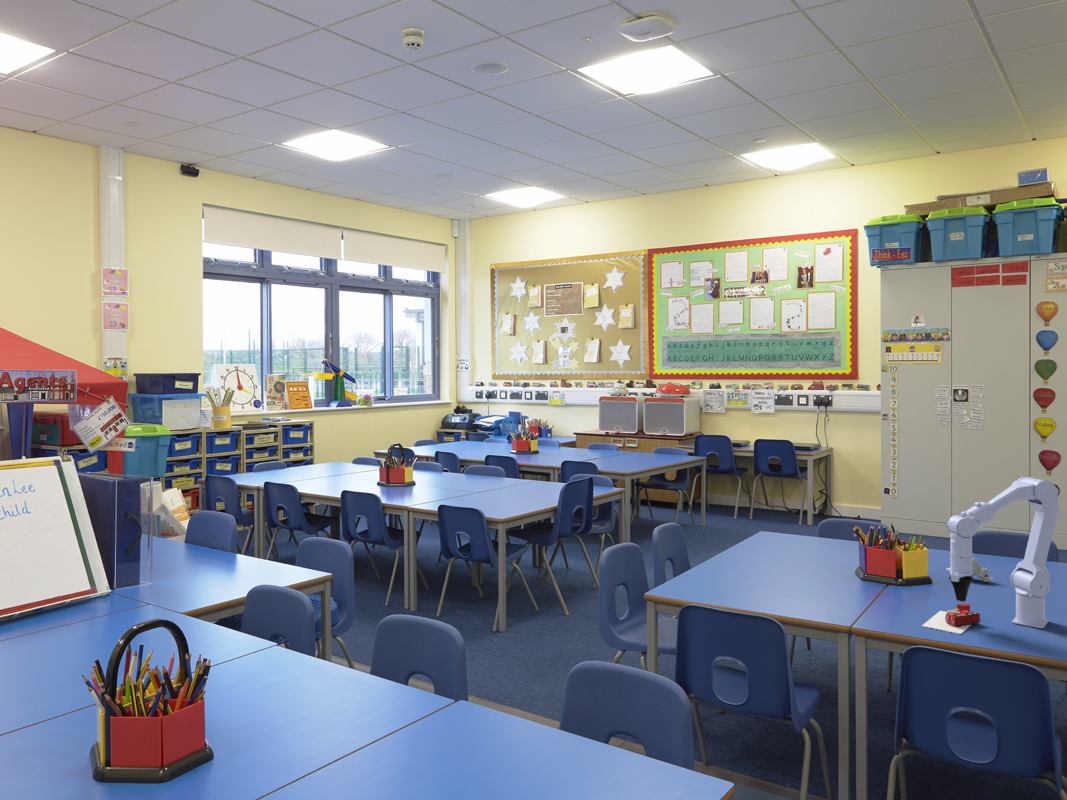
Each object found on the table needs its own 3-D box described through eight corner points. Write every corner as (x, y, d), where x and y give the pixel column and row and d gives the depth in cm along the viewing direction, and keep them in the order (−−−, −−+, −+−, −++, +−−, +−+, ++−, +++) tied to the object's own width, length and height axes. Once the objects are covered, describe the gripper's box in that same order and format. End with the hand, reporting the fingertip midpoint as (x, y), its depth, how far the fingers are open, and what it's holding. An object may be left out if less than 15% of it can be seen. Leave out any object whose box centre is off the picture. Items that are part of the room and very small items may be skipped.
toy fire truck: (955, 628, 223) (929, 618, 232) (990, 622, 227) (964, 613, 236) (954, 616, 223) (929, 607, 232) (990, 611, 227) (963, 602, 236)
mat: (940, 611, 239) (940, 610, 239) (977, 618, 231) (977, 617, 231) (921, 626, 225) (921, 625, 225) (960, 634, 218) (960, 633, 218)
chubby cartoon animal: (983, 592, 268) (993, 572, 265) (949, 574, 276) (959, 554, 273) (989, 587, 273) (999, 568, 270) (956, 570, 281) (966, 550, 278)
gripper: (953, 549, 234) (953, 592, 234) (939, 558, 223) (939, 603, 223) (978, 553, 229) (978, 597, 229) (966, 562, 218) (966, 608, 219)
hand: (961, 600), depth 226 cm, fingers closed
